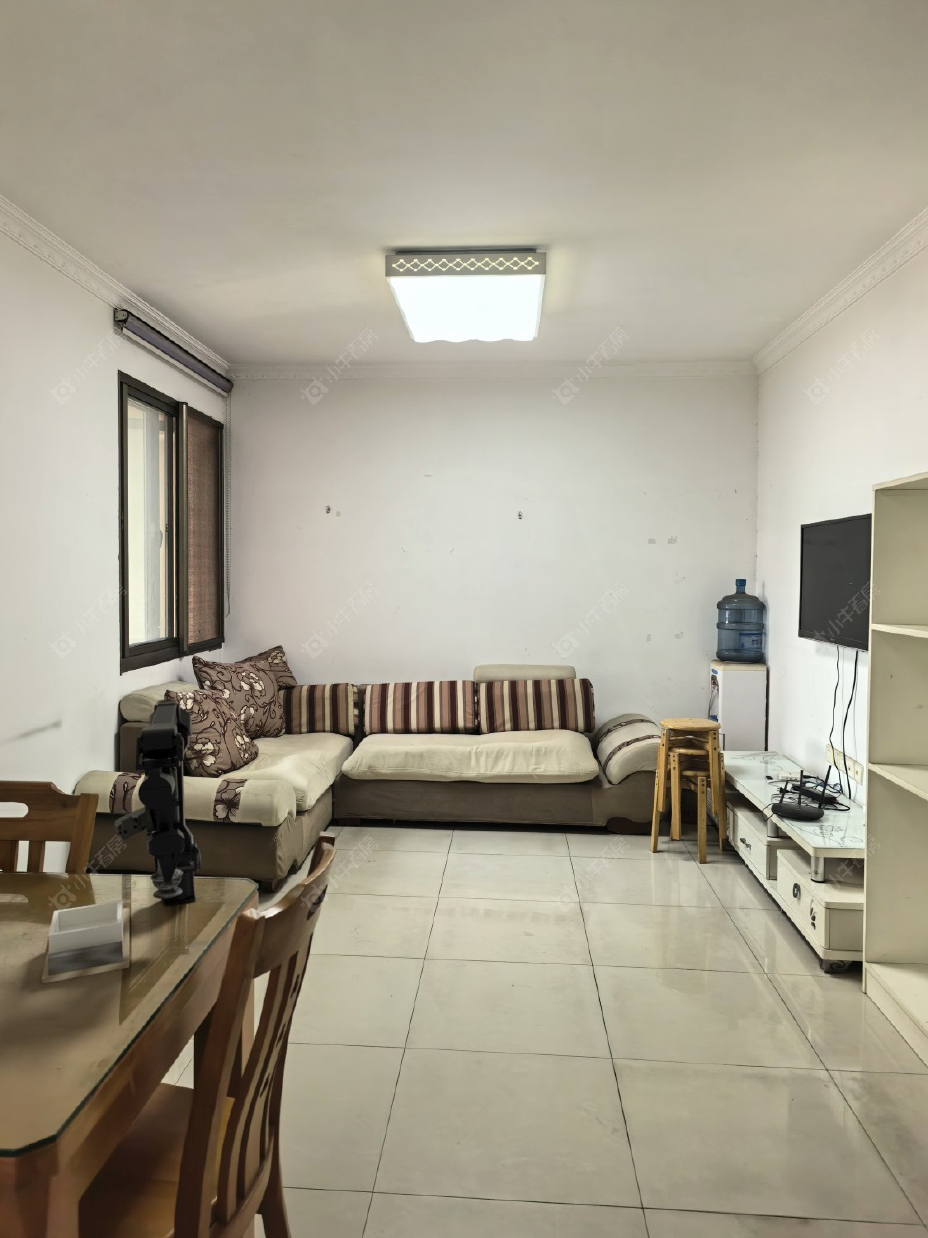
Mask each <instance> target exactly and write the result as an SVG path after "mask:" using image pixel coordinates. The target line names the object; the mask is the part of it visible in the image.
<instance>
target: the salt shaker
mask: <svg viewBox="0 0 928 1238" xmlns="http://www.w3.org/2000/svg"><path fill="white" fill-rule="evenodd" d="M182 875H183V872H182V871H181V870H178V869H175V872H174V875H173V877H172V880H171V882H170V883H165V882H164V879H163V875H162V872H161V868H160V864H159V861H158V869H157V872H156V871H155V872H154V873H152V874H151V876H150V880H151V881H152V885H153V887H155V888H156V889H157V890H155V891H154V892H153V894H152V896H153V898H155V899H160V900H161V899H165V898H171V897H175V896H177V895H179V894H181V893H182V889H181V888H179V887H176V886H178V884H179V883H180V881H181V876H182Z"/></svg>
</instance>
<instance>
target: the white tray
mask: <svg viewBox="0 0 928 1238" xmlns="http://www.w3.org/2000/svg"><path fill="white" fill-rule="evenodd" d="M47 936H48V938H47V939H48V949H49V954H52V953H58V952H63V951H69V950H74V949H80V948H86V947H91V946H97V945H102V944H108V943H114V942H119V941H122V945H123V900H114V901H110V902H109V901H108V902H102V903H96V904H95V903H94V904H89V905H83V906H77V907H71V908H65V909H64V908H63V909H58V910H53V914H52V919H51V923H50V927H49V932H48V935H47Z"/></svg>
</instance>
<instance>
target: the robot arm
mask: <svg viewBox="0 0 928 1238" xmlns="http://www.w3.org/2000/svg"><path fill="white" fill-rule="evenodd" d="M153 708H154V709H153V712H152V713H151V714H150V715H149V725H147V726H144V727H143V728H142V729H141V731H140V735H138V736H136V746H135V747H136V748H135V750H136V751H135V771H144V776H143V778H142V779H143V780H142V782H141V784H140V785H139V787H138V791H137V792H138V793H137V795H138V799H139V801H140V803H141V804H142V805H144V806H143V807H142V808H141V807H140V808H139V809H136V810H133V811H132V812H130V813H128V814H126V815H123V816H121V817H119V818H117V819H116V820H114V827H115V830H116V832H117V835H118V836H119V838H120V840H121V841H122V842H124V841H127V840H129V839H130V837H133V836H135V835H137V834H140V833H141V832H143V831H146V836H147V850H148V851H147V852H148V854H149V855H150V856H153V857H154V868H155V873H156V872H157V869H158V861H159V864H160V868H161V872H162V875H163V879H164V882H165V883H170V882H171V880H172V877H173V875H174V872H175V869H178V870H181V871H182V872H183V875H182V876H181V881H180V883H179V884H178V886H176V887H179V888H181V889H182V893H181V894H179V895H177V896H175V897H171V898H165V899H160V901H161V902H163V906H164V907H165V906H171V905H178V904H183V903H190V902H195V901H196V900H197V898H196V891H195V879H194V878H195V877H194V875H195V874H194V873H195V872H198V870H200V869H202V858H201V857H202V856H201V851H200V849H199V848H198V846H197V843H196V842H194V835H193V833H192V832H191V831H190V829H189V828H188V826H187V825H186V815H185V814H186V813H185V812H186V811H185V785H184V784H185V783H184V780H185V779H184V755H185V753H186V751H187V749H188V748H189V745H190V737H193V720H192V717H191V712H189V711H187V710H186V709H184V708H182V706H181V703H180V702H176V701H174V702H173V701H172V702H171V701H170V702H158V703H157V704H154V707H153Z"/></svg>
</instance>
